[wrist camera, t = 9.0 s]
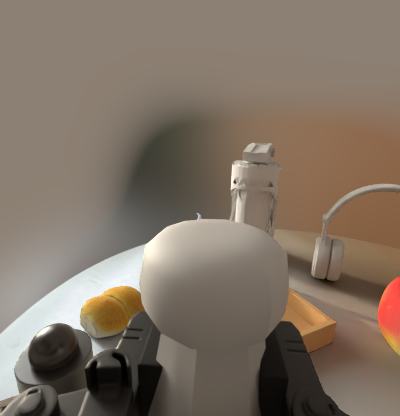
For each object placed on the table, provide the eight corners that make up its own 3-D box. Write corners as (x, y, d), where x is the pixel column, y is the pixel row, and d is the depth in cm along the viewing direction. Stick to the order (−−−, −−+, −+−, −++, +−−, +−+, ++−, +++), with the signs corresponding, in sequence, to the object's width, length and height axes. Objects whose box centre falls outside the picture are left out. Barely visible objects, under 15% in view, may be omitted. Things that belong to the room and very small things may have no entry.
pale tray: (191, 305, 41) (191, 287, 40) (263, 285, 47) (265, 269, 46) (241, 383, 28) (243, 360, 27) (332, 342, 34) (336, 322, 33)
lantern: (269, 265, 54) (282, 145, 47) (222, 256, 57) (228, 143, 50) (274, 242, 65) (285, 144, 58) (234, 236, 69) (241, 142, 62)
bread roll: (155, 312, 39) (155, 290, 38) (103, 349, 32) (101, 323, 31) (122, 292, 44) (121, 271, 42) (71, 320, 37) (68, 296, 36)
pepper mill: (44, 444, 21) (17, 316, 18) (101, 420, 23) (87, 300, 20) (36, 516, 17) (-1, 370, 14) (106, 480, 19) (90, 343, 16)
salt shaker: (106, 627, 8) (50, 281, 5) (151, 430, 14) (142, 201, 10) (287, 656, 8) (385, 304, 4) (259, 442, 13) (291, 208, 10)
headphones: (429, 291, 46) (463, 187, 41) (448, 319, 39) (492, 198, 33) (311, 265, 54) (326, 176, 49) (309, 284, 47) (325, 183, 42)
